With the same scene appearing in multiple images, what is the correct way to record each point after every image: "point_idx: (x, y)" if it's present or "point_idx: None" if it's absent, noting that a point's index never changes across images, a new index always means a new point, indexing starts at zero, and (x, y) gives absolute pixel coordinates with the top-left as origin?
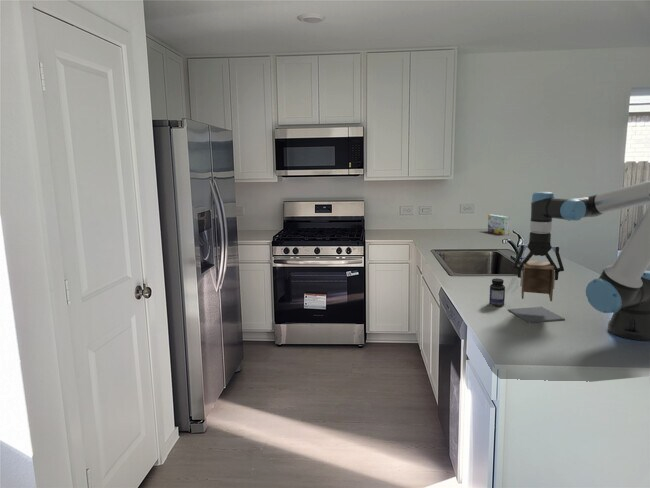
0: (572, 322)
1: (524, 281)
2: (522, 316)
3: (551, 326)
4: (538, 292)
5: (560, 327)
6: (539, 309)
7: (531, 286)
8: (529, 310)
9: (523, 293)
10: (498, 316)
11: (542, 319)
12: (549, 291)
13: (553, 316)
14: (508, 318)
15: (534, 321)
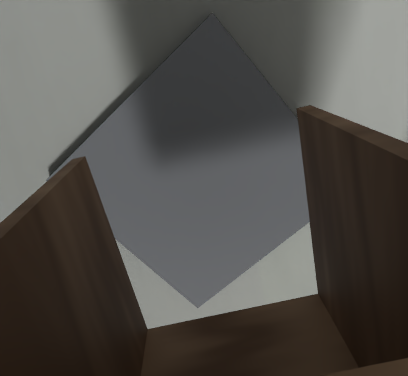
0: (3, 159)
1: (349, 363)
2: (261, 92)
3: (76, 17)
4: (214, 318)
5: (27, 27)
6: (199, 261)
7: (274, 342)
8: (242, 220)
9: (316, 114)
10: (394, 43)
11: (146, 96)
12: (125, 310)
13: (107, 184)
14: (334, 36)
15: (182, 43)
